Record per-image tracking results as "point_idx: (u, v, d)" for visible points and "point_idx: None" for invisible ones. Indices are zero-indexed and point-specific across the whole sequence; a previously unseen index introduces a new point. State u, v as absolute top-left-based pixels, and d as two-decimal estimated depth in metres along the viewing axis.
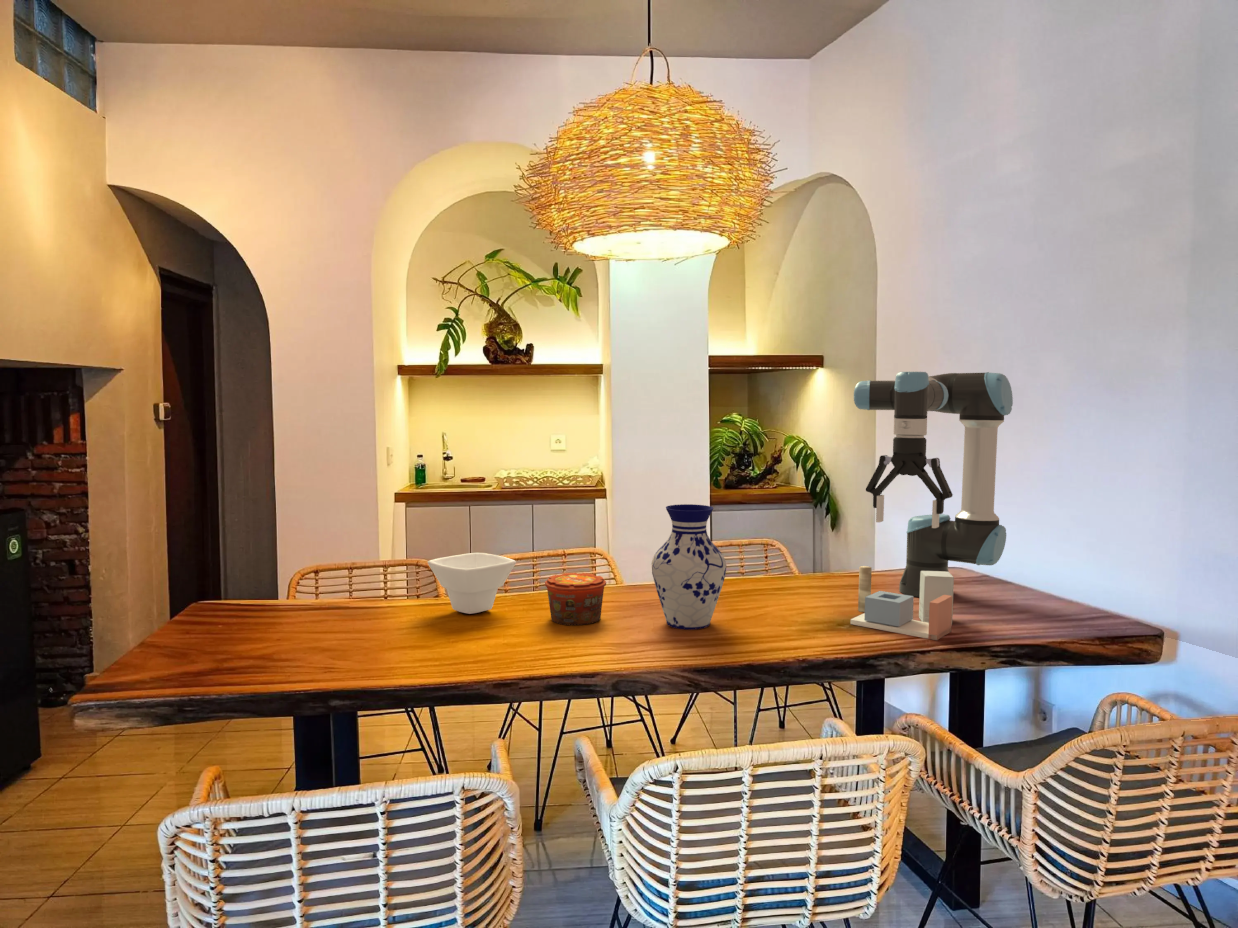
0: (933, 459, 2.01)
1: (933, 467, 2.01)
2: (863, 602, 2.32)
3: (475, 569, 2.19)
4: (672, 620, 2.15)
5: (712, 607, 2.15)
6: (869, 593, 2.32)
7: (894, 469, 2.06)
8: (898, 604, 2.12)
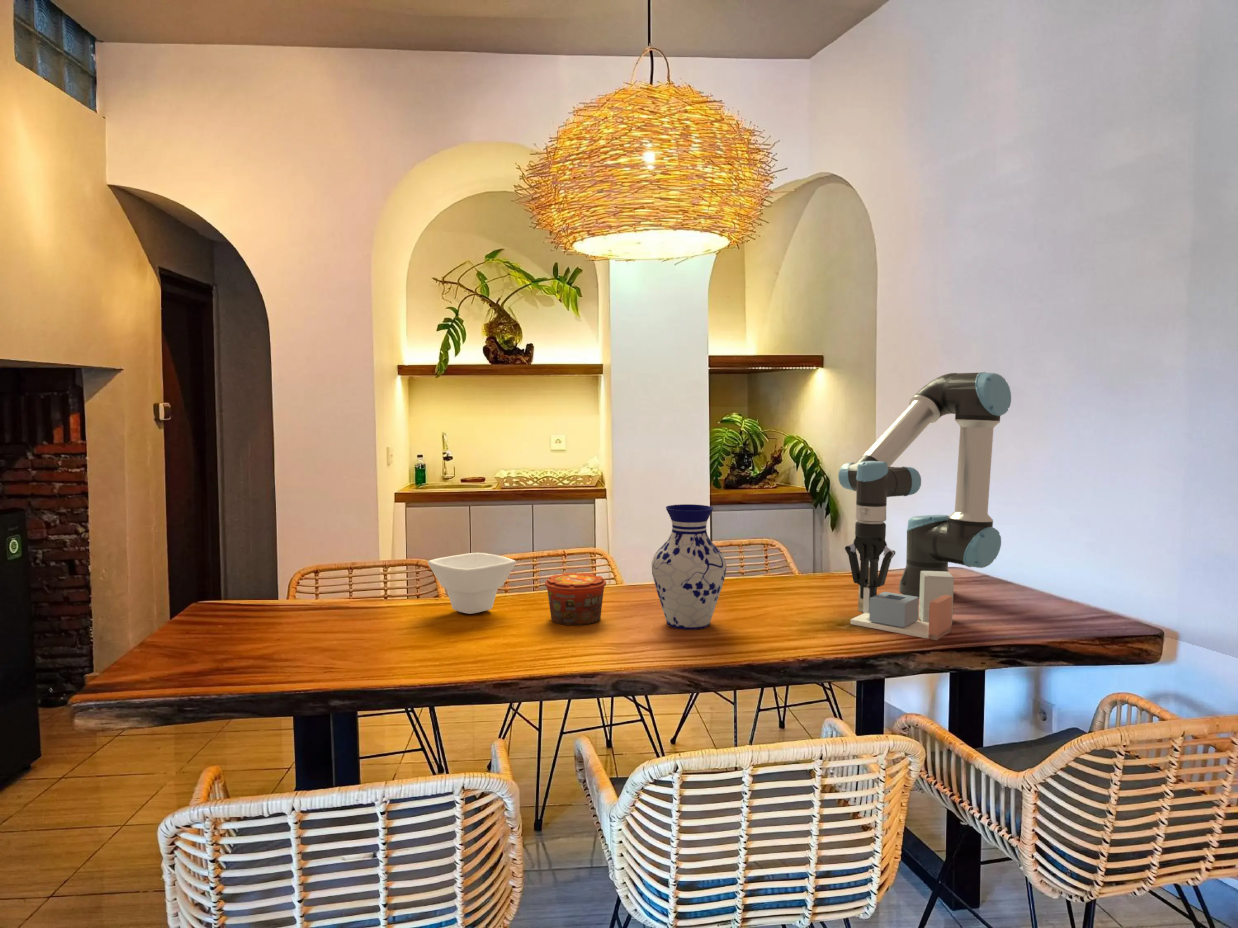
0: (890, 553, 2.16)
1: (885, 558, 2.17)
2: None
3: (475, 569, 2.19)
4: (672, 620, 2.15)
5: (712, 607, 2.15)
6: None
7: (861, 554, 2.20)
8: (903, 605, 2.11)
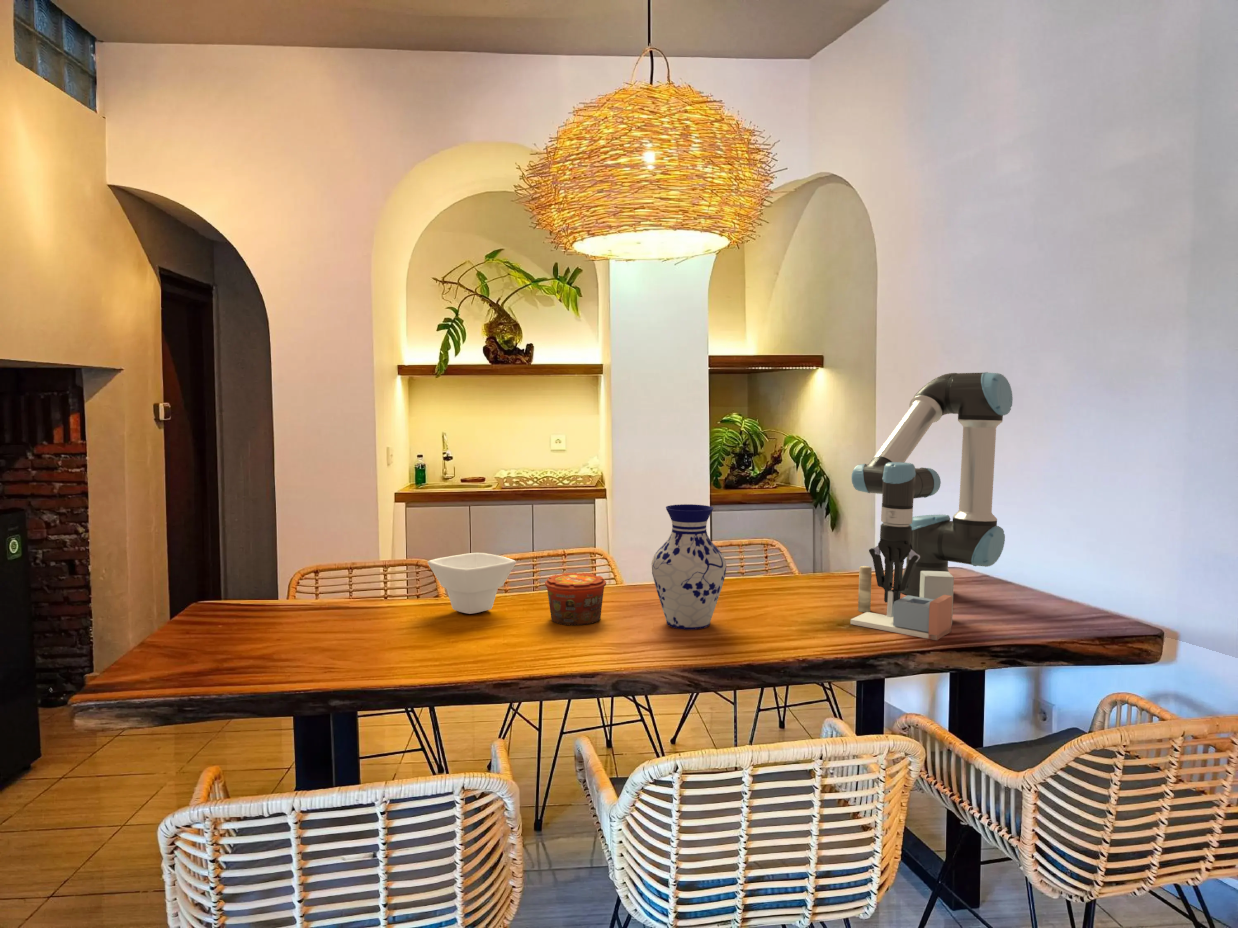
0: (915, 556, 2.12)
1: (910, 562, 2.13)
2: (863, 602, 2.32)
3: (475, 569, 2.19)
4: (672, 620, 2.15)
5: (712, 607, 2.15)
6: (869, 593, 2.32)
7: (886, 557, 2.16)
8: (928, 609, 2.07)
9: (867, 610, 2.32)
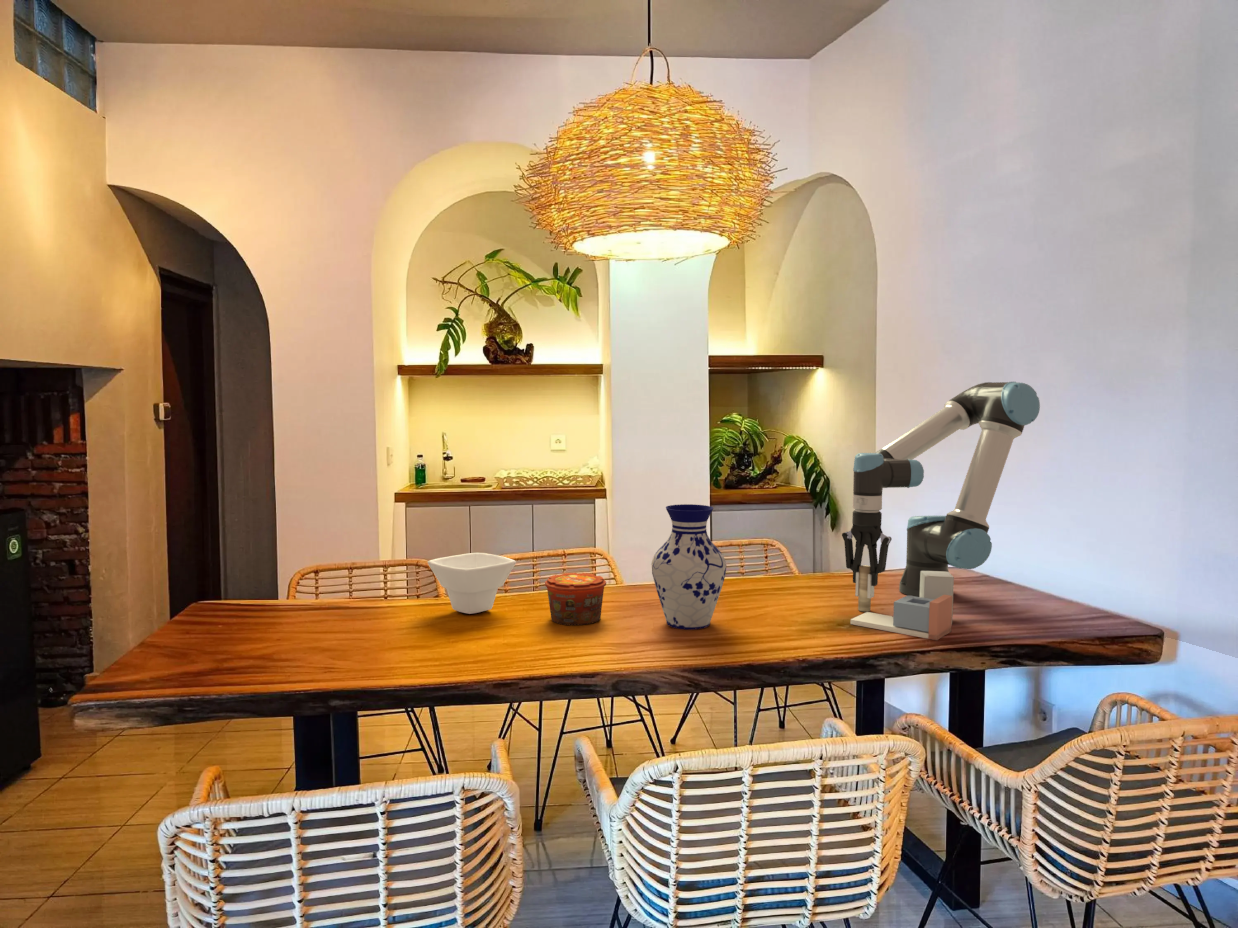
0: (886, 538, 2.27)
1: (882, 544, 2.28)
2: (863, 601, 2.32)
3: (475, 569, 2.19)
4: (672, 620, 2.15)
5: (712, 607, 2.15)
6: None
7: (857, 541, 2.32)
8: (928, 609, 2.07)
9: (867, 609, 2.32)
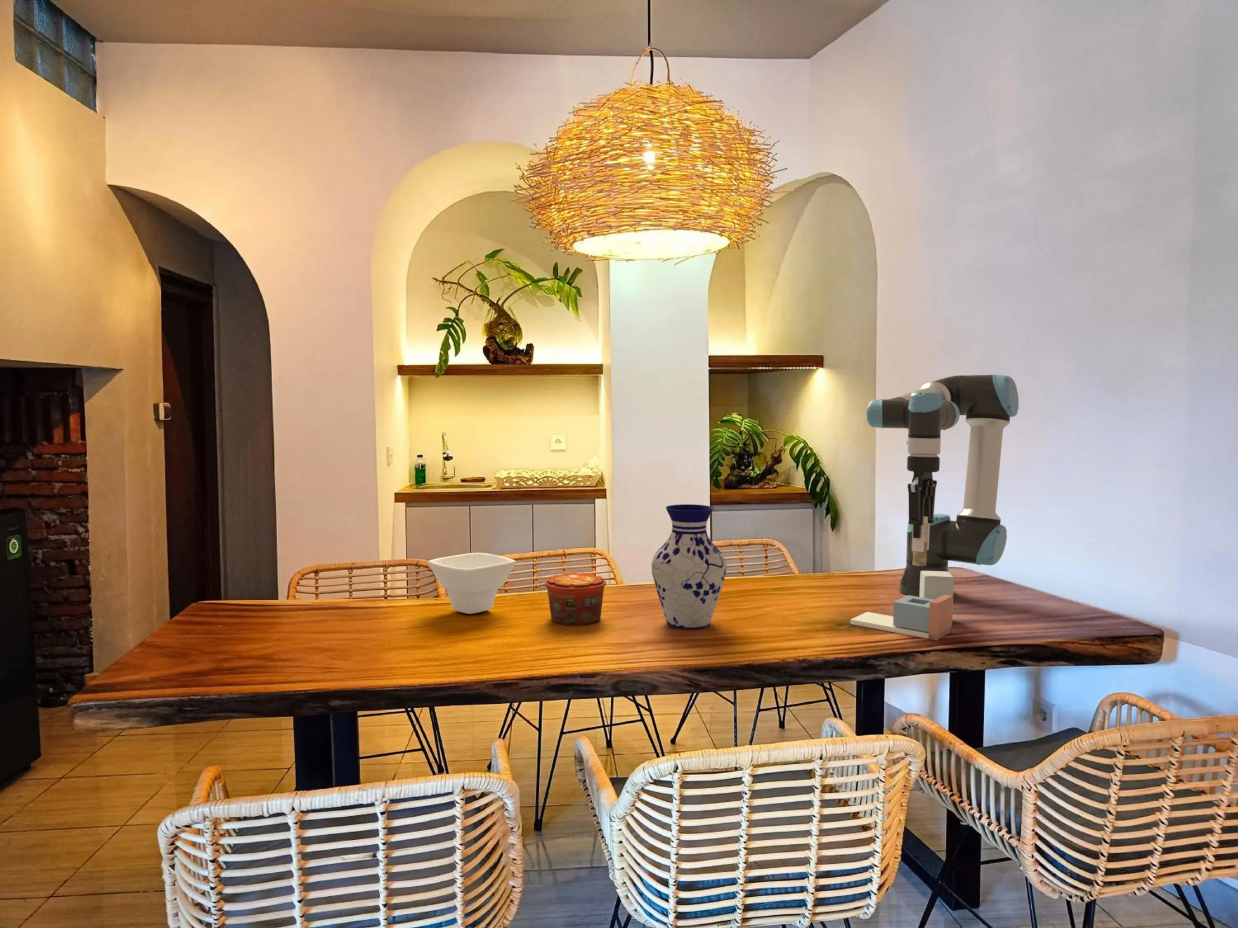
0: (908, 484, 2.07)
1: None
2: None
3: (475, 569, 2.19)
4: (672, 620, 2.15)
5: (712, 607, 2.15)
6: None
7: None
8: (928, 609, 2.07)
9: (913, 563, 2.12)
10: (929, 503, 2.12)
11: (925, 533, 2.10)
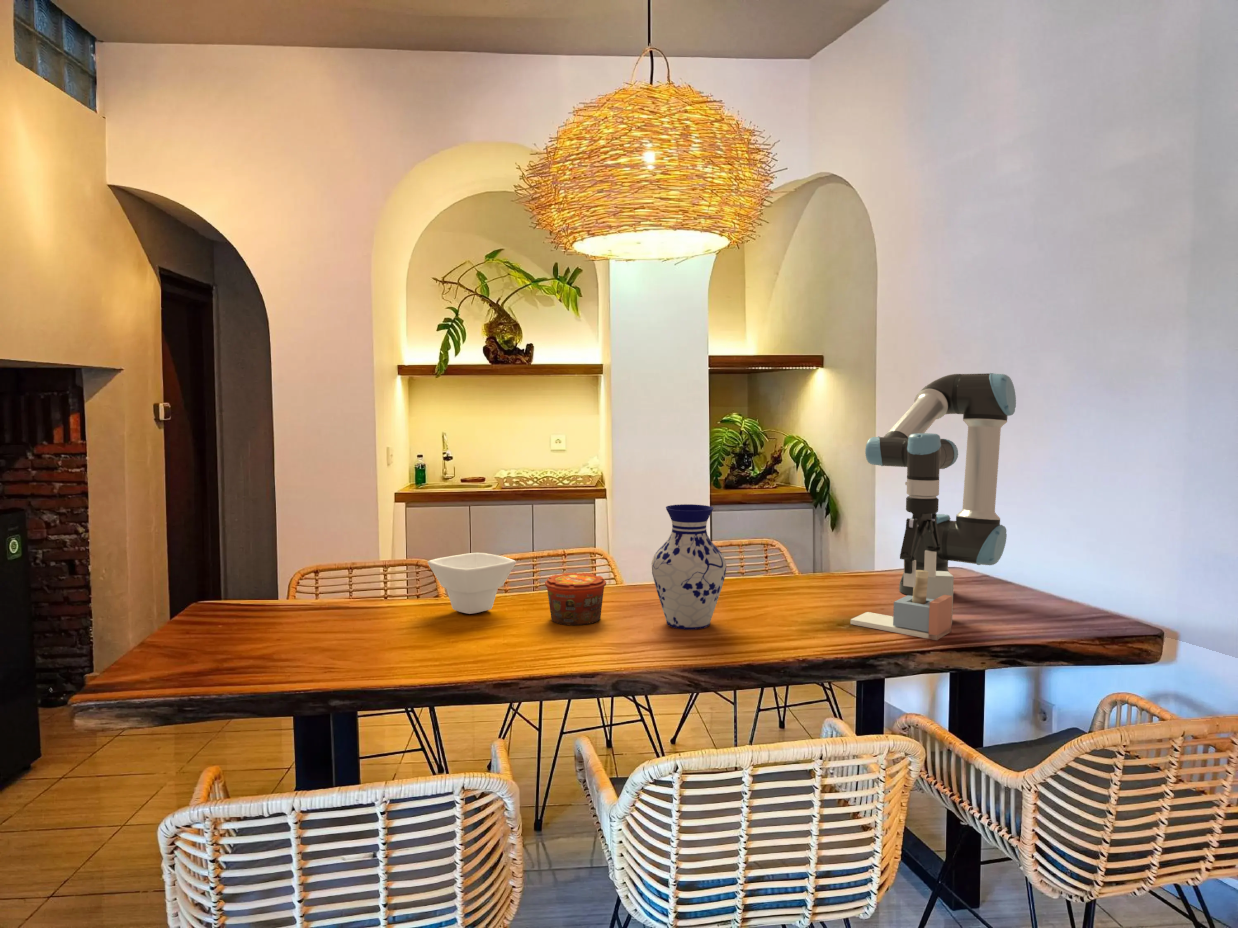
0: None
1: None
2: None
3: (475, 569, 2.19)
4: (672, 620, 2.15)
5: (712, 607, 2.15)
6: (915, 599, 2.12)
7: None
8: (928, 609, 2.07)
9: None
10: (932, 537, 2.15)
11: (925, 588, 2.12)
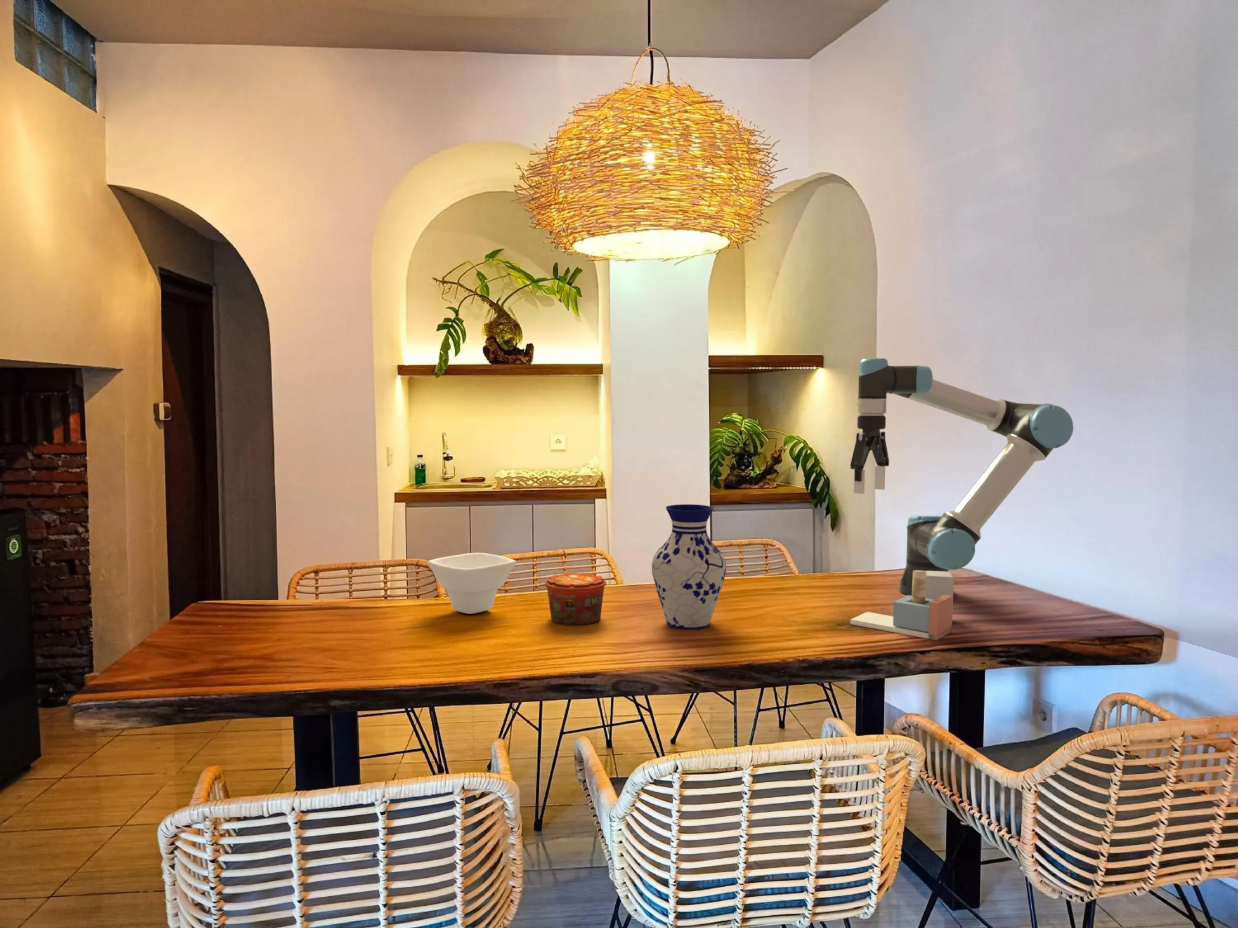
0: None
1: None
2: None
3: (475, 569, 2.19)
4: (672, 620, 2.15)
5: (712, 607, 2.15)
6: (914, 599, 2.12)
7: None
8: (928, 609, 2.07)
9: None
10: (881, 452, 2.41)
11: (924, 588, 2.12)
